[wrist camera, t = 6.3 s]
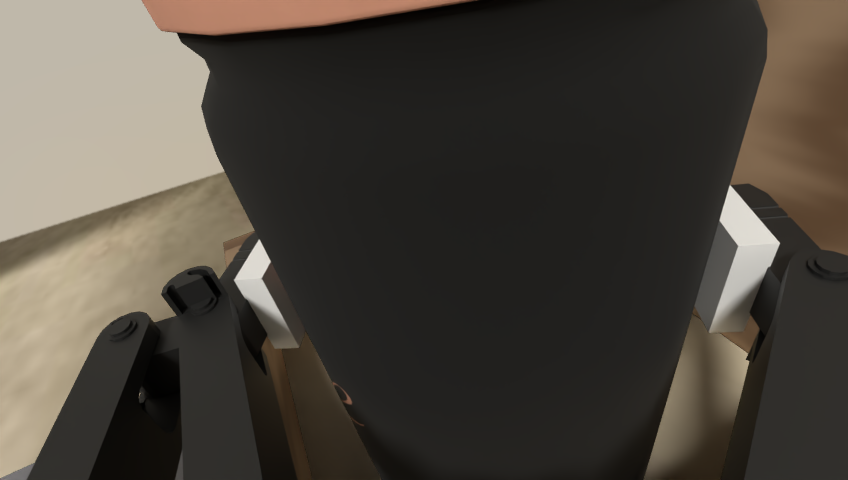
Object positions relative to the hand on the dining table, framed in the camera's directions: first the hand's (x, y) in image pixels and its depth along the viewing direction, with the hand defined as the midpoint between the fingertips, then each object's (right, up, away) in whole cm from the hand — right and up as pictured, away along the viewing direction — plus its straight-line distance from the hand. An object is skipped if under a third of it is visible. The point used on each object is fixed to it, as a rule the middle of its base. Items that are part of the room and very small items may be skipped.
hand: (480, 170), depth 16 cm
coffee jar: (+1, -11, +3) cm, 11 cm away
